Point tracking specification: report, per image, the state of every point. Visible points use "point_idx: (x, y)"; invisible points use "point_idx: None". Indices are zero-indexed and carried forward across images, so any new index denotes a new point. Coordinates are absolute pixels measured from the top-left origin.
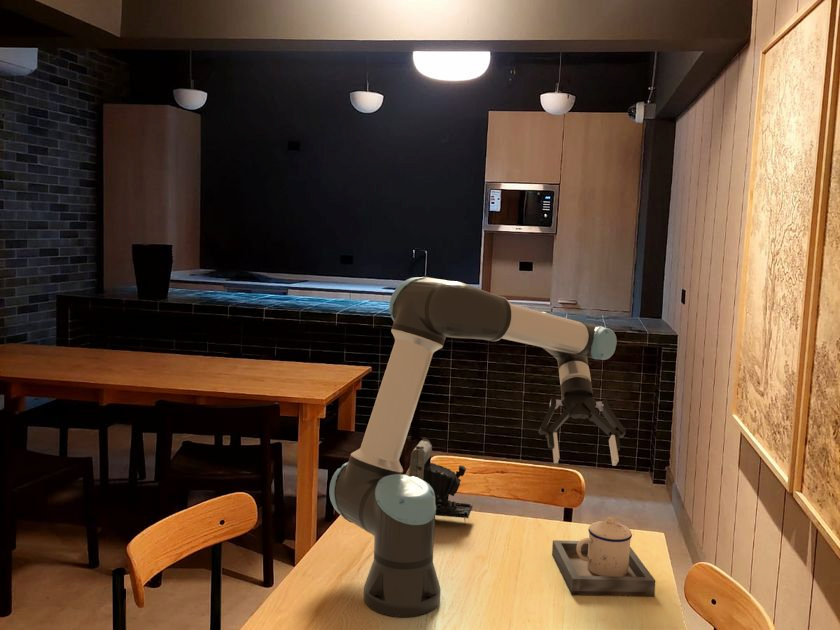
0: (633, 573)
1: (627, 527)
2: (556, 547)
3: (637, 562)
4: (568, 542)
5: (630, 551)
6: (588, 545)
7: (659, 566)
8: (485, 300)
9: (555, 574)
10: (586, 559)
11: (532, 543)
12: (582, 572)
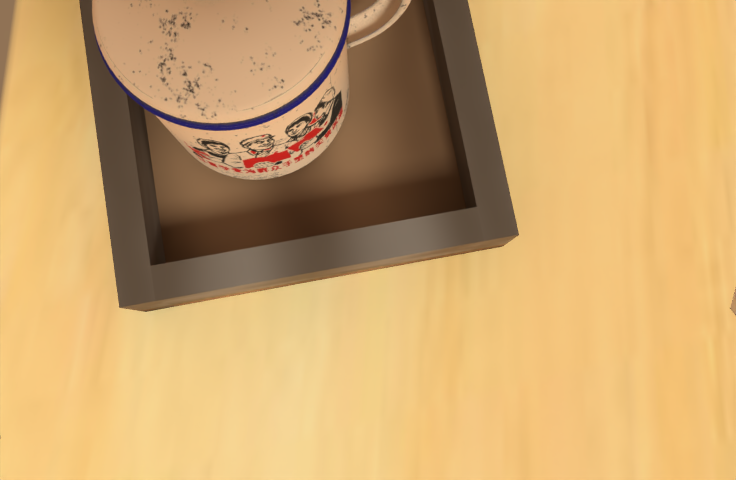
0: None
1: (103, 37)
2: (499, 149)
3: None
4: (436, 225)
5: (121, 184)
6: (346, 50)
7: (2, 237)
8: None
9: (486, 51)
10: (359, 13)
11: (600, 365)
12: (373, 41)
